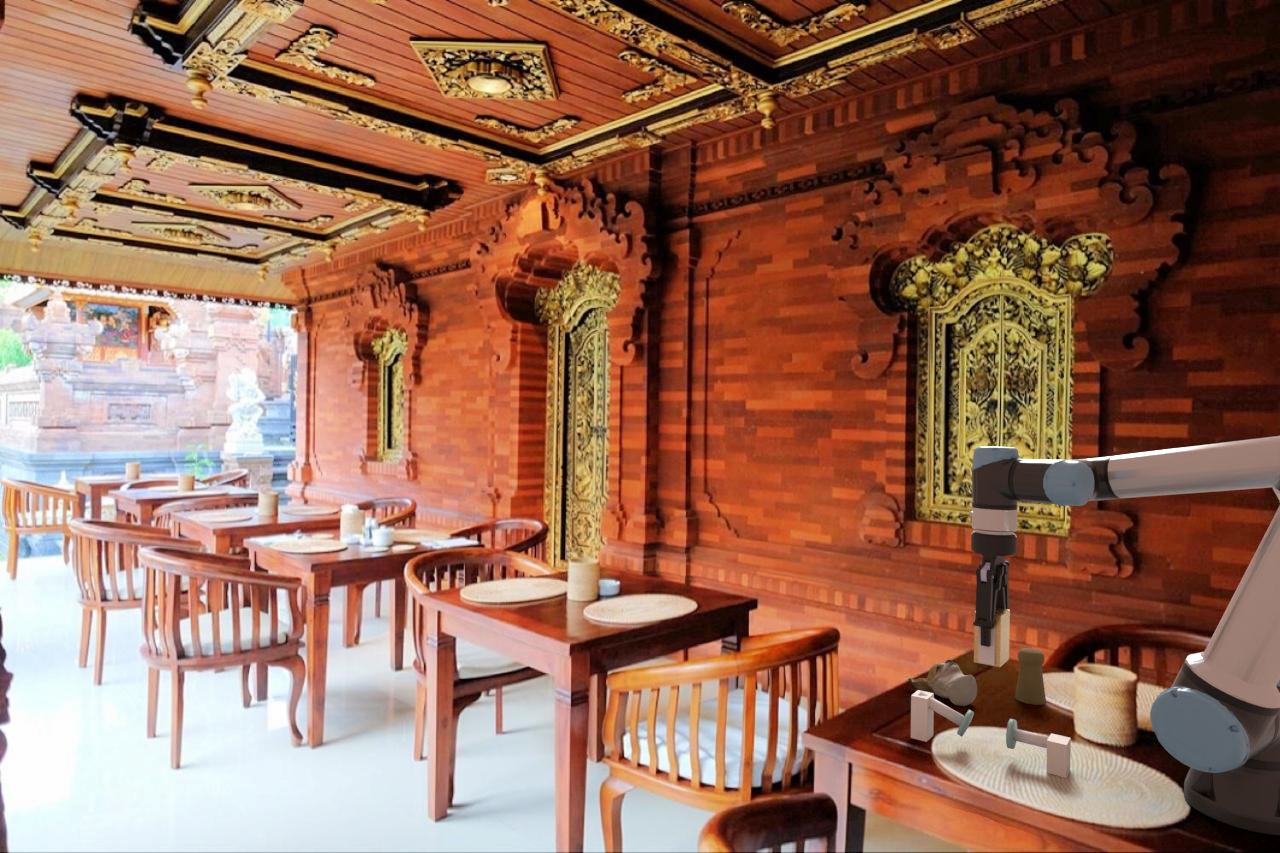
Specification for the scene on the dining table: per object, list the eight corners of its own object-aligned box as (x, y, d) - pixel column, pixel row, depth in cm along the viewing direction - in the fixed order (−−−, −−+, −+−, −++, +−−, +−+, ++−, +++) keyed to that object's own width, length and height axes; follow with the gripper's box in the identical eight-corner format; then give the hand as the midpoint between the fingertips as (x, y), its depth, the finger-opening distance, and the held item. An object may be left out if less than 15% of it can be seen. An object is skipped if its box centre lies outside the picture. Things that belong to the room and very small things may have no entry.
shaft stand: (1070, 768, 132) (1071, 719, 132) (1065, 778, 128) (1066, 728, 128) (918, 730, 148) (918, 686, 148) (909, 738, 144) (910, 693, 144)
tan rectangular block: (973, 662, 137) (974, 612, 137) (983, 654, 142) (984, 605, 142) (1000, 667, 134) (1000, 616, 134) (1009, 659, 139) (1009, 609, 139)
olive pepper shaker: (1008, 697, 167) (1009, 646, 167) (1027, 693, 170) (1028, 644, 170) (1033, 706, 162) (1033, 654, 162) (1052, 702, 164) (1053, 651, 164)
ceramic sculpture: (950, 669, 158) (905, 653, 172) (951, 712, 157) (905, 692, 172) (992, 666, 161) (944, 650, 175) (993, 707, 160) (945, 688, 175)
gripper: (985, 524, 148) (984, 643, 148) (956, 534, 132) (954, 667, 132) (1028, 528, 143) (1026, 651, 143) (1003, 539, 128) (1000, 676, 128)
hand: (991, 658), depth 138 cm, fingers closed on tan rectangular block, 6 cm apart
